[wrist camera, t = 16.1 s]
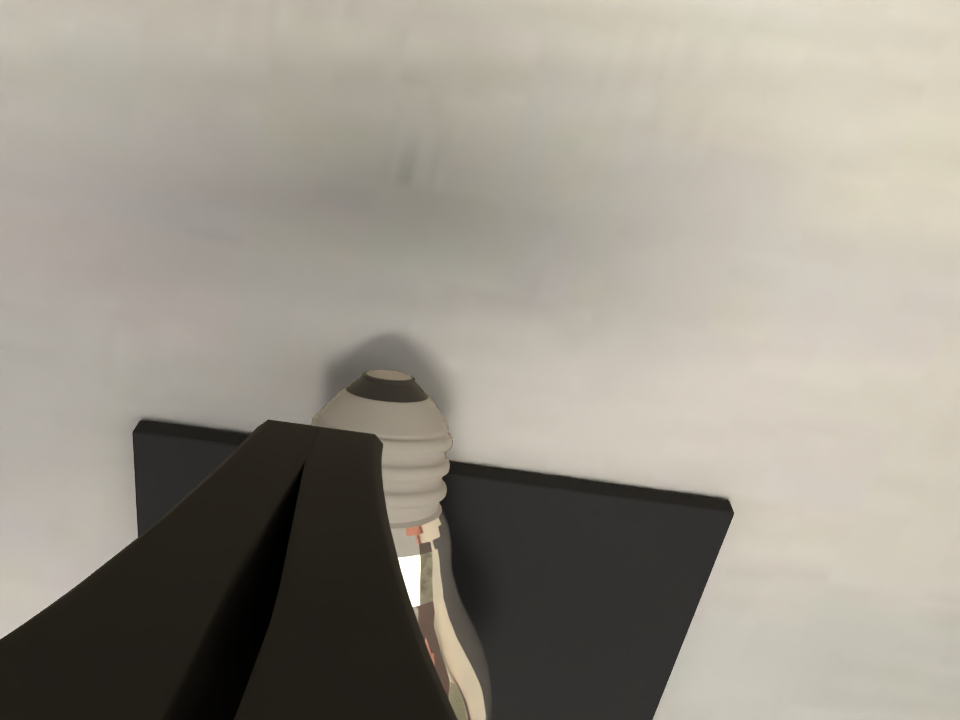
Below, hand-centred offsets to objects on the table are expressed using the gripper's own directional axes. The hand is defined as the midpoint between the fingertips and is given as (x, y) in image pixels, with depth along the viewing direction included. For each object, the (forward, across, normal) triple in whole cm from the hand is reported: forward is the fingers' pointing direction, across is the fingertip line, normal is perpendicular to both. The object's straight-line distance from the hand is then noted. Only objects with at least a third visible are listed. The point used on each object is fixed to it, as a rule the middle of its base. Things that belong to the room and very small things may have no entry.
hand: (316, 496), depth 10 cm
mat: (+10, -2, +12) cm, 16 cm away
